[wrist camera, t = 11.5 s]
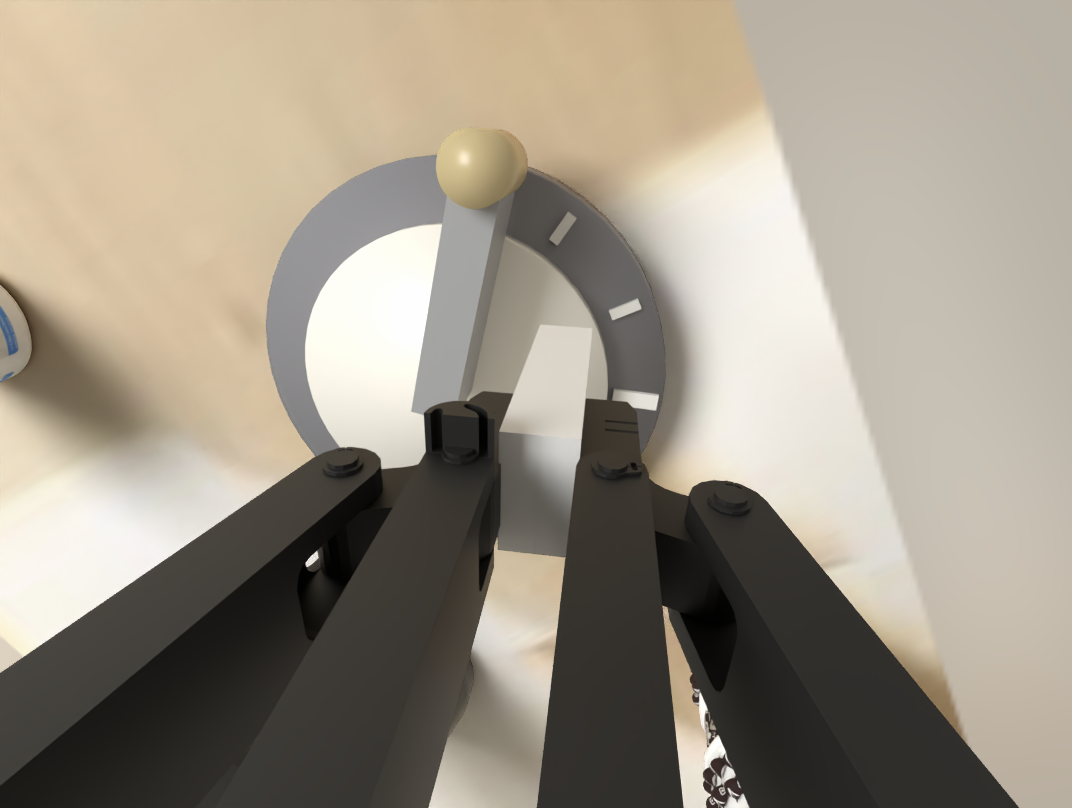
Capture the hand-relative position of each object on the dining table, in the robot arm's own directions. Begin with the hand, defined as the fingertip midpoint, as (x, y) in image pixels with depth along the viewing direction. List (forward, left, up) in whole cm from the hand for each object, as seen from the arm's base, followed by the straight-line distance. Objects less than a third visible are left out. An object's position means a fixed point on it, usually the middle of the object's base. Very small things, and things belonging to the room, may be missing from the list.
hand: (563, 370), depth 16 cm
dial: (-6, +7, -17) cm, 19 cm away
